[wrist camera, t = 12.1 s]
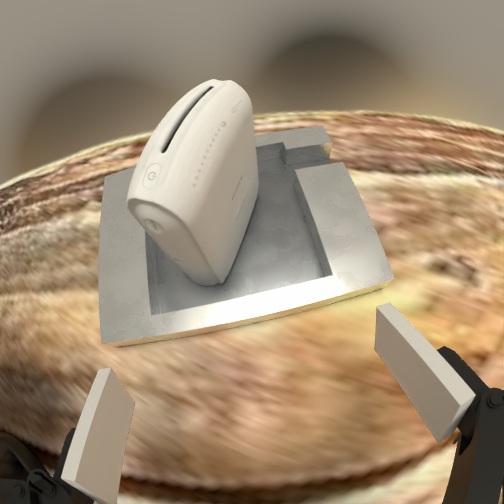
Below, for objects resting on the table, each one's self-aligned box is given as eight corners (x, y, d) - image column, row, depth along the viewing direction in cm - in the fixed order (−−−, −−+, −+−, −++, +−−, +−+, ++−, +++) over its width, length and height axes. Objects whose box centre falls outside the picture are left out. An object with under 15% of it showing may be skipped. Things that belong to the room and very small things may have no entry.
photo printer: (226, 295, 21) (173, 205, 10) (176, 279, 22) (93, 188, 10) (265, 187, 25) (258, 65, 13) (221, 178, 25) (192, 62, 14)
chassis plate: (117, 347, 20) (101, 343, 18) (115, 190, 26) (105, 176, 24) (382, 288, 21) (394, 278, 18) (319, 143, 27) (322, 125, 25)
